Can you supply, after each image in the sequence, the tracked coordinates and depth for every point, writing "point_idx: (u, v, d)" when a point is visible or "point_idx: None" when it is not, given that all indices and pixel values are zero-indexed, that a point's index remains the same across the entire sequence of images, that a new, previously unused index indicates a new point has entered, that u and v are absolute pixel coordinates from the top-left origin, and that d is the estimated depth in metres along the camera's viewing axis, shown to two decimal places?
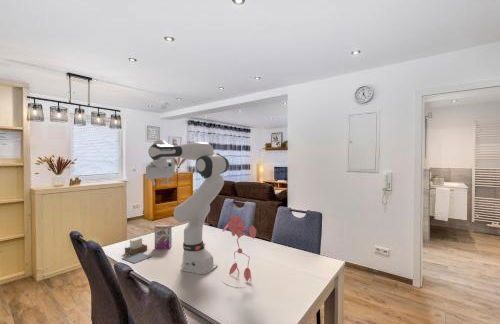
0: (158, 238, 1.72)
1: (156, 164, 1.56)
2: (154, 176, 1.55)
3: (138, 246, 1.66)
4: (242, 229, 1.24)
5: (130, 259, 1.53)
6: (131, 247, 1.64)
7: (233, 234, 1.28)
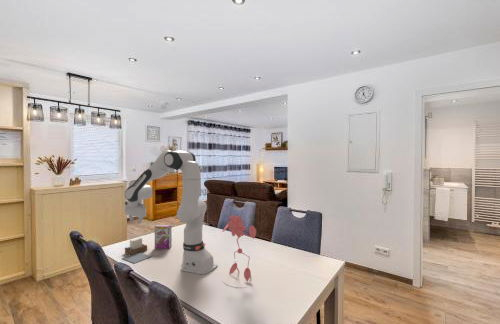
0: (158, 238, 1.72)
1: (141, 202, 1.66)
2: None
3: (138, 246, 1.66)
4: (242, 229, 1.24)
5: (130, 259, 1.53)
6: (131, 247, 1.64)
7: (233, 234, 1.28)
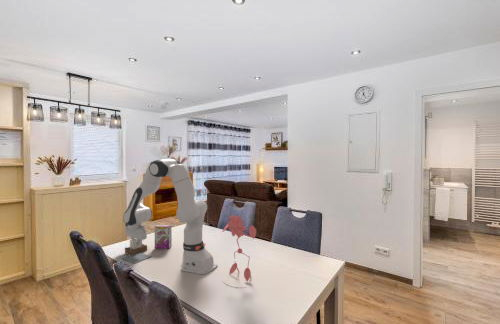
0: (158, 238, 1.72)
1: (141, 224, 1.66)
2: None
3: (138, 246, 1.66)
4: (242, 229, 1.24)
5: (130, 259, 1.53)
6: (131, 247, 1.64)
7: (233, 234, 1.28)
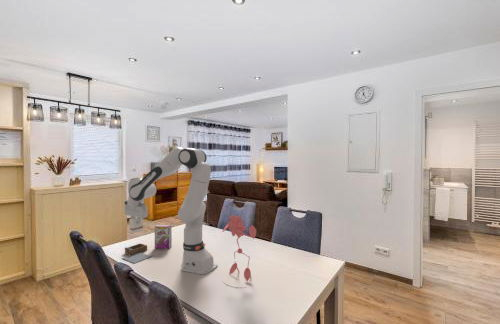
0: (158, 238, 1.72)
1: (142, 202, 1.55)
2: None
3: (138, 225, 1.56)
4: (242, 229, 1.24)
5: (130, 259, 1.53)
6: (131, 226, 1.53)
7: (233, 234, 1.28)
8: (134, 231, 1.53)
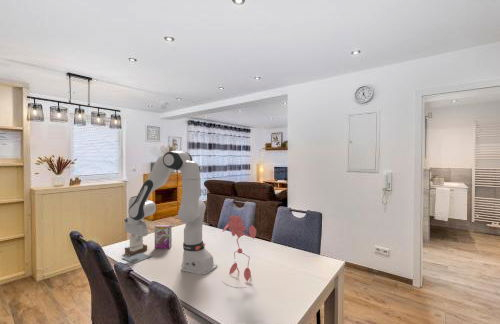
0: (158, 238, 1.72)
1: (142, 220, 1.55)
2: None
3: (138, 243, 1.56)
4: (242, 229, 1.24)
5: (130, 259, 1.53)
6: (131, 244, 1.53)
7: (233, 234, 1.28)
8: (134, 249, 1.53)
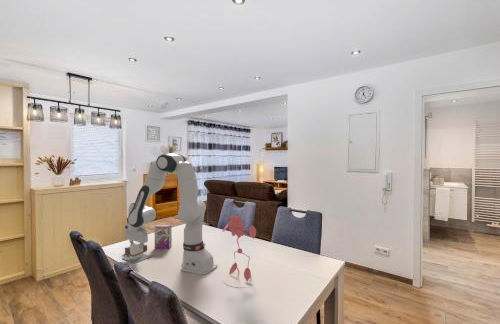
0: (158, 238, 1.72)
1: (142, 226, 1.55)
2: None
3: (139, 251, 1.56)
4: (242, 229, 1.24)
5: (130, 259, 1.53)
6: (131, 252, 1.53)
7: (233, 234, 1.28)
8: (134, 257, 1.53)
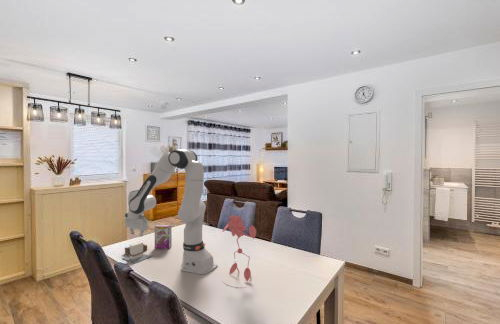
0: (158, 238, 1.72)
1: (142, 214, 1.55)
2: None
3: (139, 251, 1.56)
4: (242, 229, 1.24)
5: (130, 259, 1.53)
6: (131, 252, 1.53)
7: (233, 234, 1.28)
8: (134, 257, 1.53)
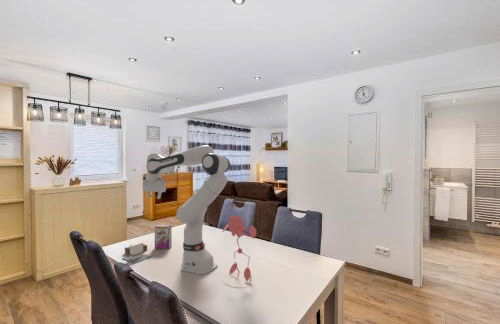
0: (158, 238, 1.72)
1: (160, 177, 1.59)
2: None
3: (139, 251, 1.56)
4: (242, 229, 1.24)
5: (130, 259, 1.53)
6: (131, 252, 1.53)
7: (233, 234, 1.28)
8: (134, 257, 1.53)
